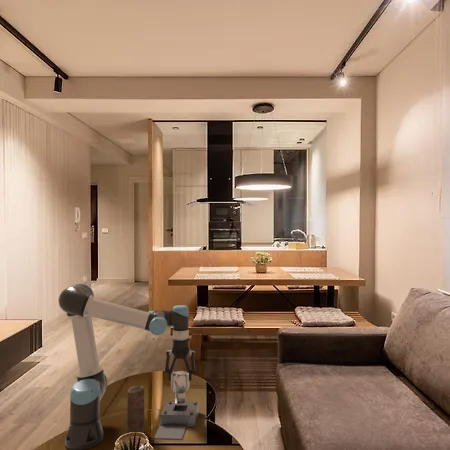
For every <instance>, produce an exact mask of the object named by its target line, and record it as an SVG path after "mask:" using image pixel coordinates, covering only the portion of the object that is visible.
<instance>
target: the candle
mask: <svg viewBox="0 0 450 450" xmlns="http://www.w3.org/2000/svg"><path fill="white" fill-rule="evenodd" d="M126 404H127V406H126V413H127V414H126V434H127V433H129V432H143V434H144V433H145V387H144V386H143V385H137V386H136V385H133V386H131V387H129V389H127V400H126Z"/></svg>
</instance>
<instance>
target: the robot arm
mask: <svg viewBox="0 0 450 450" xmlns="http://www.w3.org/2000/svg"><path fill="white" fill-rule="evenodd" d="M94 295H95V294H94V290H93V289H92V288H91V286H89V285H88V284H84V283H76V284H72V285H70V286H69V287H66V288H65V289H63V290H62V291H61V293H60V294H59V296H58V305H59V308H60V309H61V310H62V311H63V312H65V313H66V316H67V318H69V319H71V324H72V331H73V337H74V344H75V350H76V357H77V363H78V368H79V369H78V370H79V371H78V372H77V373H76V381H77V382H75V383H74V384H72V387H71V389H70V393H69V399H70V402H69V406H70V407H69V408H70V409H69V426H68V428H67V431H66V435H65V438H64V446H65V447H66V448H67V449H68V450H88V449H91V448H94V447H96V446H97V445H99V444H100V443H101V442H103V440H104V430H103V426H102V423H101V419H100V403H101V400H102V398H103V396H104V395H105V392H106V391H107V389H108V377H107V375H106V374H105V373H104V368H103V366H102V365H100V363H99V357H98V356H99V355H98V349H97V344H96V339H95V333H94V332H95V331H94V324H93V319H92V318H96V319H100V320H105V321H108V322H113V323H116V324H121V325H124V326H127V327H128V326H129V327H132V328H135V329H140V330H143V331H147V332H150V333H151V334H152V335H154V336H161V335H163V334H164V333H165V332H166V330H167V329H168V327H172V338H173V339H172V349H167V350H166V352H165V354H166V360H165V361H166V362H165V367H164V368H165V369H164V372H165V373H168V380H169V381H170V389H173V373H174V372H175V371H174V367H175V365H176V362H177V360H178V359H181V360H183V362H184V364H185V367H186V370H187V373H188V374H187V389H189V388H190V382H192V378H193V374H195V372H196V362H195V361H196V360H195V353H196V352H195V350H191V349H189V348H190V347H189V344H190V343H189V341H190V340H189V335H190V334H189V332H190V330H189V329H190V328H189V325H190V323H189V321H190V316H189V315H190V312H189V310H190V309H189V306H188V305H183V304H181V305H179V304H178V305H174V306H173V308H172V309H170V310H169V309H167V310H166V309H165V310H156V309H155V310H149V311H144V310H140V309H136V308H133V307H128V306H125V305H121V304H118V303H113V302H110V301H105V300H103V299H99V298H95V297H94ZM188 354H189V356H190V361H191V362H189V358H188ZM171 355H173V356H174V357H173V361H172V363H171V365H170V362H171ZM190 363H191V365H190Z"/></svg>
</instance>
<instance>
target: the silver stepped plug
mask: <svg viewBox="0 0 450 450" xmlns="http://www.w3.org/2000/svg"><path fill="white" fill-rule="evenodd" d="M173 372H174V373H173V388H172V392H173V393H174V402H175V403H177V404H182V403H185V402H186V392H188V389H187V374H188V371H184V370H178V371H173Z"/></svg>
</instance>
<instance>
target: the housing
mask: <svg viewBox="0 0 450 450" xmlns="http://www.w3.org/2000/svg"><path fill="white" fill-rule="evenodd" d="M199 414H200V401H185V403H182V404H177V403H175V401H169V400H168V401H166V403H165V404H164V406H163V409H162V410H161V411H160V415H159V418H160V419H159V424H160V425H159V426H173V427H186V428H187V427H189V428H192V427H193V428H195V427H196V424H197V421H198V417H199Z"/></svg>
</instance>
